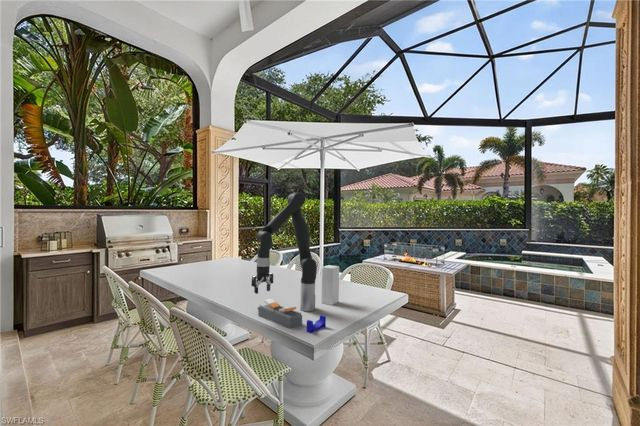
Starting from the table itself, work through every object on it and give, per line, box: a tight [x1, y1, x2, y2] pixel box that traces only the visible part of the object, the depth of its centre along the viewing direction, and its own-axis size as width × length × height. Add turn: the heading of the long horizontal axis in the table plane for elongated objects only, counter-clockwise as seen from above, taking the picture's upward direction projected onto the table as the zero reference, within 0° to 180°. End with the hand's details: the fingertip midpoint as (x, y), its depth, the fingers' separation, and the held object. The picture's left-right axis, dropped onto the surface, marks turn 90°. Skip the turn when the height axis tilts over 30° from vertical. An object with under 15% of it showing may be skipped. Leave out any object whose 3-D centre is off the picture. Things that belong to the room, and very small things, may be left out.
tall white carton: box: [321, 264, 340, 306], centre depth 210 cm, size 9×9×25 cm
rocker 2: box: [279, 306, 297, 311], centre depth 171 cm, size 9×5×1 cm, turn 48°
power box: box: [257, 304, 303, 329], centre depth 178 cm, size 34×9×6 cm, turn 48°
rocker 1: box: [263, 298, 281, 309], centre depth 180 cm, size 9×5×1 cm, turn 48°
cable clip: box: [306, 314, 327, 334], centre depth 164 cm, size 12×4×6 cm, turn 139°
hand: (262, 292), depth 180 cm, fingers open, 8 cm apart
